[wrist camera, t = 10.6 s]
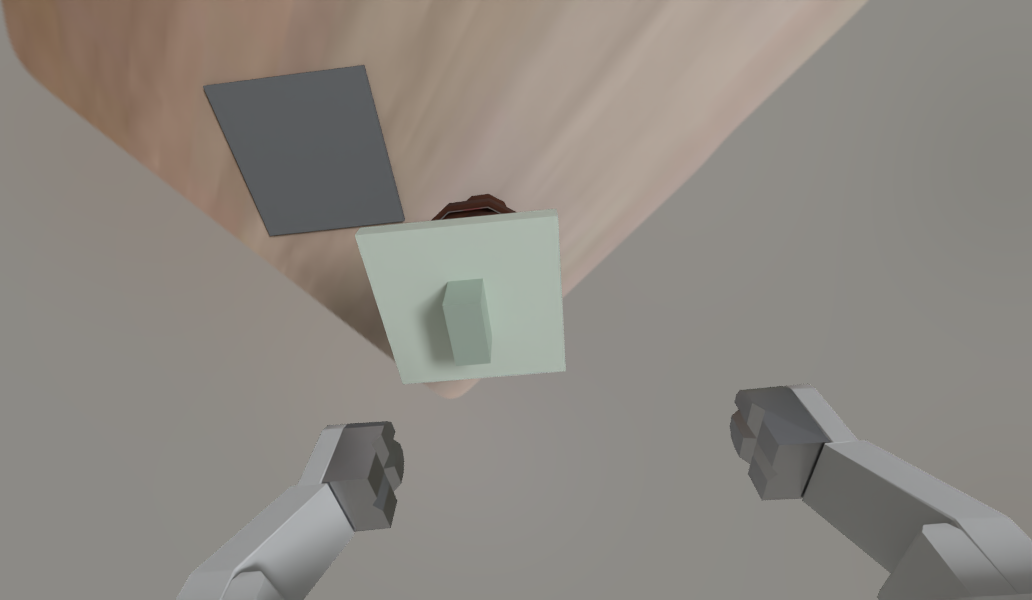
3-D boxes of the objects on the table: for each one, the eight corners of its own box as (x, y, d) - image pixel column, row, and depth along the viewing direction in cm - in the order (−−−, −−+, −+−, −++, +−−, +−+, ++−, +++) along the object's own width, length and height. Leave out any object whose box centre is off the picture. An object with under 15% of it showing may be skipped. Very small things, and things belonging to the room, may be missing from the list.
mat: (205, 85, 38) (202, 86, 38) (364, 65, 38) (362, 65, 37) (271, 234, 46) (270, 235, 45) (404, 219, 45) (404, 221, 45)
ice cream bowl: (465, 282, 49) (449, 374, 37) (410, 193, 44) (369, 267, 31) (553, 244, 47) (569, 329, 34) (507, 146, 41) (505, 204, 29)
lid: (360, 227, 29) (339, 257, 26) (556, 208, 29) (562, 235, 25) (405, 374, 36) (394, 412, 33) (564, 361, 36) (569, 398, 32)
